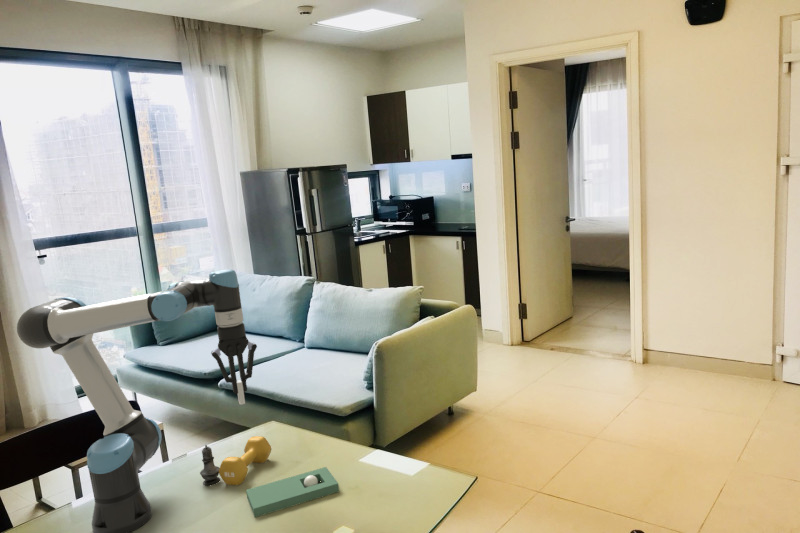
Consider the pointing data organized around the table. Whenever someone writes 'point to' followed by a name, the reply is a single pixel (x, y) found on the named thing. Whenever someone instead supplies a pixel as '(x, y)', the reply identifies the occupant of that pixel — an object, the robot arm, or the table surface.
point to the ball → (310, 481)
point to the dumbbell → (244, 460)
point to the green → (290, 492)
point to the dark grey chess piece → (209, 468)
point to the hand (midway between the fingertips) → (241, 402)
